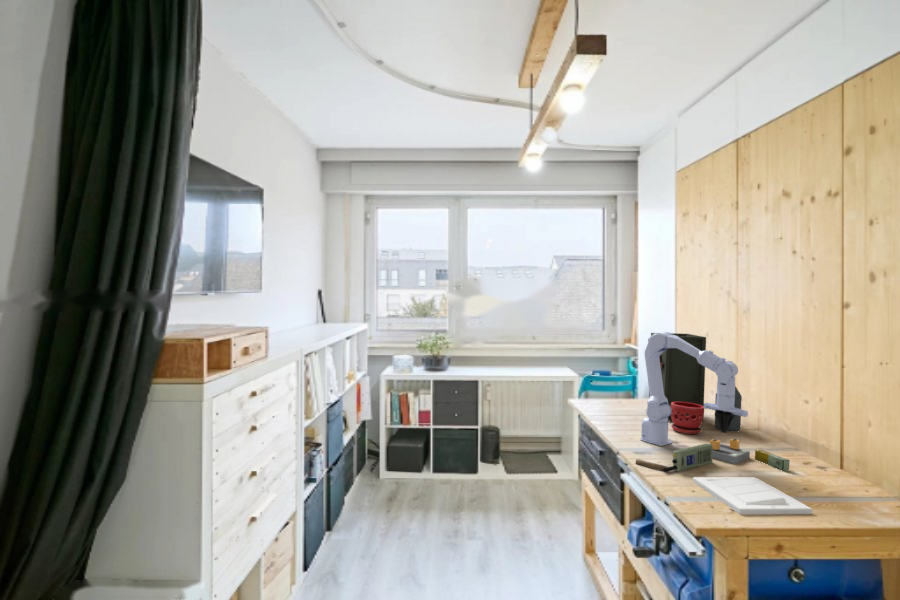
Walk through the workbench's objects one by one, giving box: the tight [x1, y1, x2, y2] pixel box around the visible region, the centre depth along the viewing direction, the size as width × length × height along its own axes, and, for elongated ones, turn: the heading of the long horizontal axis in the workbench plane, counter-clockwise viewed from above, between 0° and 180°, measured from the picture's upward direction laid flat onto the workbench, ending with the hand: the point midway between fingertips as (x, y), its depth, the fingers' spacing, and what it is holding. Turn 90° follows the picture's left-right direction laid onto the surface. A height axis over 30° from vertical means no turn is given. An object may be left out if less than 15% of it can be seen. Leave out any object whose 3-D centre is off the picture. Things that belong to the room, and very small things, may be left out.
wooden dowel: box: [635, 458, 668, 472], centre depth 166 cm, size 10×2×2 cm
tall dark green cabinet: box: [648, 332, 707, 422], centre depth 237 cm, size 18×18×40 cm
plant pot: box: [671, 402, 705, 435], centre depth 212 cm, size 13×13×12 cm
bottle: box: [714, 385, 742, 433], centre depth 217 cm, size 10×10×30 cm
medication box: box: [754, 449, 790, 472], centre depth 172 cm, size 12×3×4 cm, turn 13°
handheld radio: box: [663, 443, 713, 473], centre depth 167 cm, size 7×3×25 cm
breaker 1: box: [709, 438, 721, 450], centre depth 179 cm, size 2×2×3 cm
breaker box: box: [712, 443, 751, 465], centre depth 180 cm, size 12×12×3 cm
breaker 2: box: [729, 437, 741, 450], centre depth 180 cm, size 2×2×3 cm
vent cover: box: [692, 476, 813, 515], centre depth 144 cm, size 23×3×21 cm
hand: (724, 432), depth 177 cm, fingers closed
